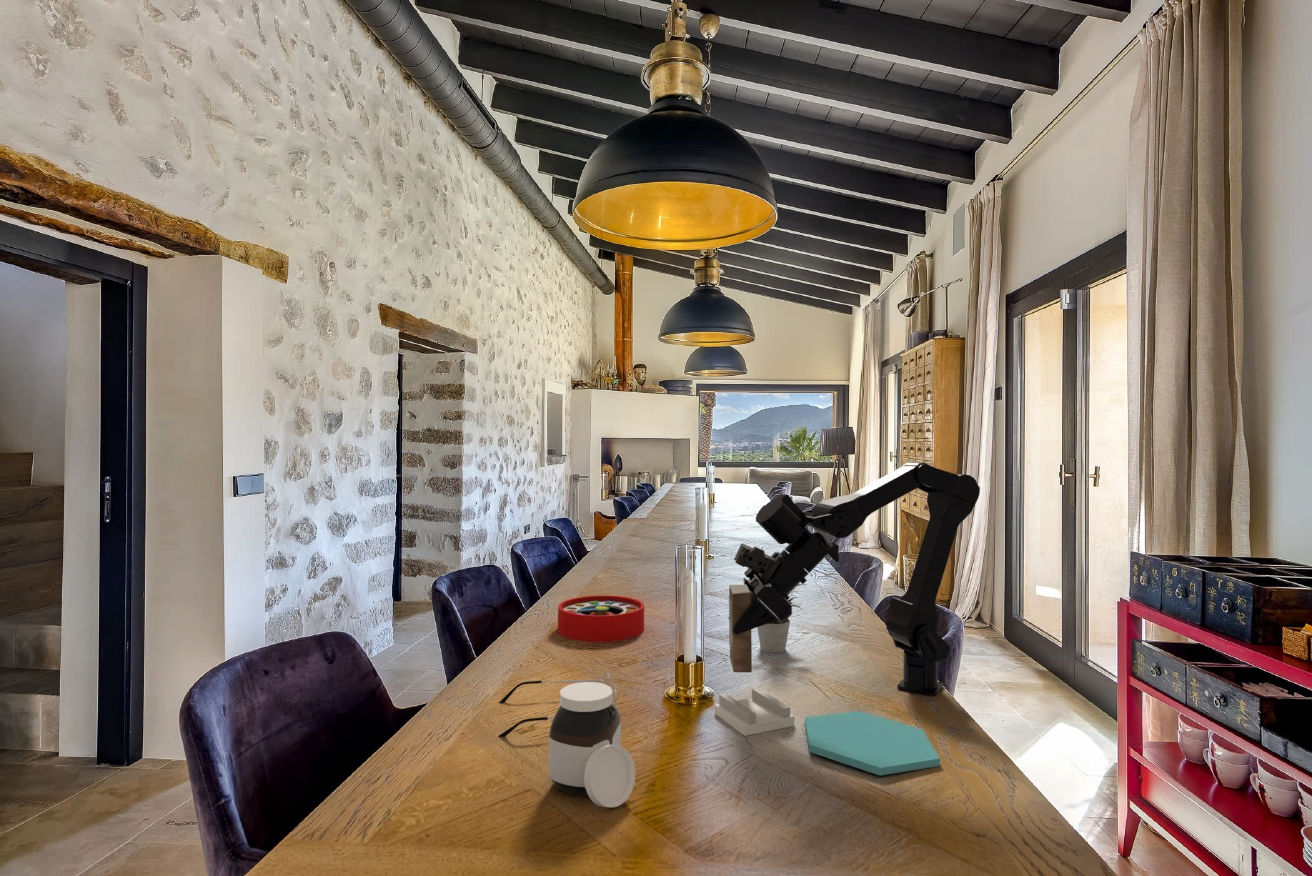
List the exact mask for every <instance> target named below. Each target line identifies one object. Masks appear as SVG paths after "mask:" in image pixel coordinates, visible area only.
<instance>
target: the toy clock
mask: <svg viewBox="0 0 1312 876" xmlns="http://www.w3.org/2000/svg"><path fill="white" fill-rule="evenodd" d="M557 609H558V610H557V632H558V634H559V635H560V636H562V637H563V638H566V639H570V640H574V641H579V642H586V643H587V642H588V643H607V642H617V641H618V642H619V641H624V640H628V639H629V640H630V639H633V638H635V637H638V636H640V635H642V633H643V634H644V631H645V604H644V602H643V601H641V600H639V599H636V598H633V597H628V596H622V595H605V594H604V595H588V596H587V595H586V596H579V597H573V598H569V599H565V600H563V601H562V602H559V604H558V606H557Z"/></svg>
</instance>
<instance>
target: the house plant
mask: <svg viewBox="0 0 1312 876" xmlns="http://www.w3.org/2000/svg"><path fill="white" fill-rule="evenodd" d="M806 585H808V584H806V583H804V584H802V583H799V584H798V585H797V586H796V587H795V588H794V589H793V590H792V591H791V592H790V593H789V594H788V596H789V595H790V594H791V593H798V591H797V587H799V586H806ZM795 590H796V591H795ZM796 598H798V596H794V597H790V598H789V599H788V601H789V603H790V604H791V606H792V607H794V608H795V607H797V608H799V609H800V610H802V608H801V606H800V605H798V604H796V603H795V602H792V601H793V600H794V599H796ZM778 619H779V618H778ZM790 624H791V620H790V619H789V618H788V619H787V620H786V621H785V622H783V621H781V620H780V619H779V621H777V622H776V621H775V622H772V623H769V624H765V625H762V626H759V627H757V628H756V629H757V634H758V640H759V646H760V650H761V651H763V652H766V653H771V654H781V653H783V652H785V651H786V649H787V641H788V637H789V630H790Z"/></svg>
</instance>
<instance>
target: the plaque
mask: <svg viewBox="0 0 1312 876" xmlns="http://www.w3.org/2000/svg"><path fill="white" fill-rule="evenodd" d="M804 727H805V733H806V738H807V739H806V740H807V746H808V752H810V753H812V754H814V755H815V754H816V755H818V756H821V757H823V759H826V758H827V759H830V760H832V761H836V762H838V763H842V764H845V765H847V766H851V767H854V768H856V769H860V770H862V771H864V772H868V773H871V774H874V775H877V776H885V775H886V776H887V775H892V774H899V773H905V772H911V771H916V770H924V769H928V768H929V769H930V768H935V767H940V766H941V758H940V756H939V755H938V752H937V751H936V749H935V748H934V746H933V744H932V743H931V741H930V739H929V738H928V736H927V734H926V733H925V732H926V731H924V729H923V728H921V727H916V726H912V725H911V724H910V725H909V724H906V723H902V722H899V721H895V720H892V719H888V718H885V717H881V716H878V715H874V714H871V713H868V712H865V711H864V712H863V711H860V710H856V711H854V710H852V711H846V712H837V713H830V714H829V713H828V714H819V715H813V716H804Z"/></svg>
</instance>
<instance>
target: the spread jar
mask: <svg viewBox="0 0 1312 876" xmlns="http://www.w3.org/2000/svg"><path fill="white" fill-rule="evenodd" d="M612 701H613V703H612ZM553 716H554V717H552V718H553V719H552V722H551V725H550V728H549V734H548V735H549V736H548V774H549V779H550V780H551V782H552V783H553V784H554V786H556V787H558V788H559V789H560V790H562V791H564V792H565V793H568V794H570V795H574V796H575V795H576V796H588V797H589V799H590V800H591V801H592V802H593V803H594V804H596V806H599V807H602V808H611V809H612V808H617V807H620V806H621V805H622V804H624V803H625V802H626V801H628V799H629V797H630V796H631V794H632V791H633V789H634V786H635V781H636V767H635V764H634V761H633V757H632V756H631V754H630V753H629V752H628V750H627V749H625V748H624V747H623V746H622V720H621V713H620V711H619V709H618V707H617V705H616V706H615V703H614V700H613V689H612V688H611V687H609V685H607V684H606V683H604V684H602V683H601V682H573V683H572V684H568V685H566V686H563V687H562V688H561V689H560V691H559V707H558V708H557V711H556V712H555V715H553Z"/></svg>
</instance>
